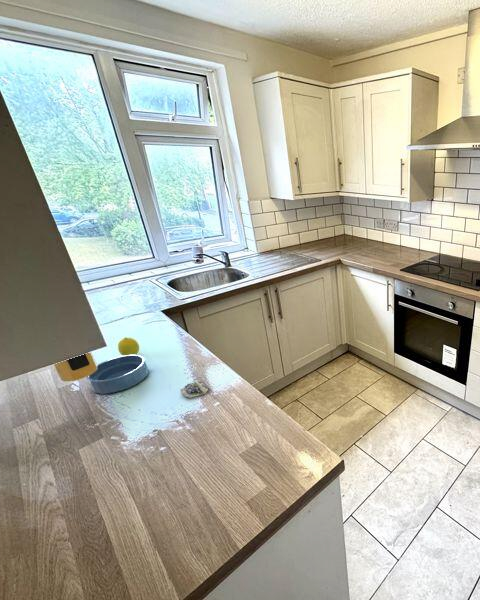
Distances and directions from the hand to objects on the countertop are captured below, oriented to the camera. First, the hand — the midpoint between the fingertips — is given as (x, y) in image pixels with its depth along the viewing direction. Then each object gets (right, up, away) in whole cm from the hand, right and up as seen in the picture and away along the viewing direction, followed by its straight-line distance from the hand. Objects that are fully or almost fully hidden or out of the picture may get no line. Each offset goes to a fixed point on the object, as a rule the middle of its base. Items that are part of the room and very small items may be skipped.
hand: (74, 362), depth 79 cm
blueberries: (+17, -13, +20) cm, 29 cm away
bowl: (-9, -10, +24) cm, 28 cm away
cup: (0, -3, +1) cm, 3 cm away
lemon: (-16, -5, +36) cm, 40 cm away
